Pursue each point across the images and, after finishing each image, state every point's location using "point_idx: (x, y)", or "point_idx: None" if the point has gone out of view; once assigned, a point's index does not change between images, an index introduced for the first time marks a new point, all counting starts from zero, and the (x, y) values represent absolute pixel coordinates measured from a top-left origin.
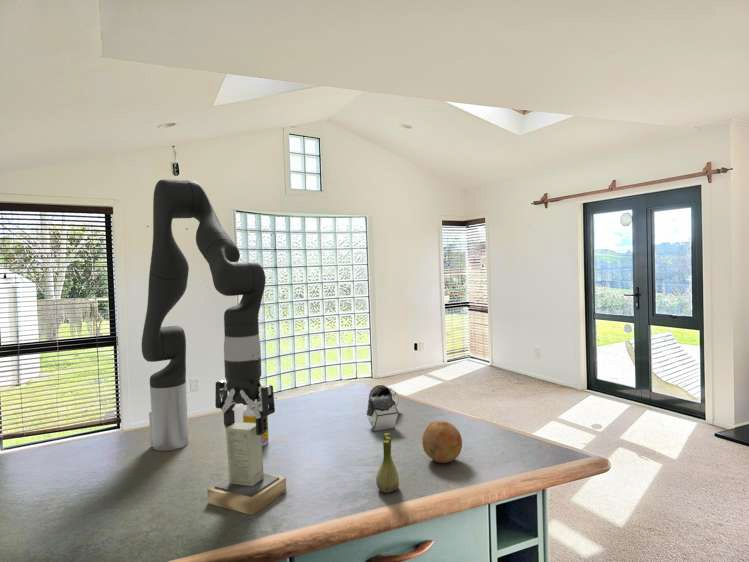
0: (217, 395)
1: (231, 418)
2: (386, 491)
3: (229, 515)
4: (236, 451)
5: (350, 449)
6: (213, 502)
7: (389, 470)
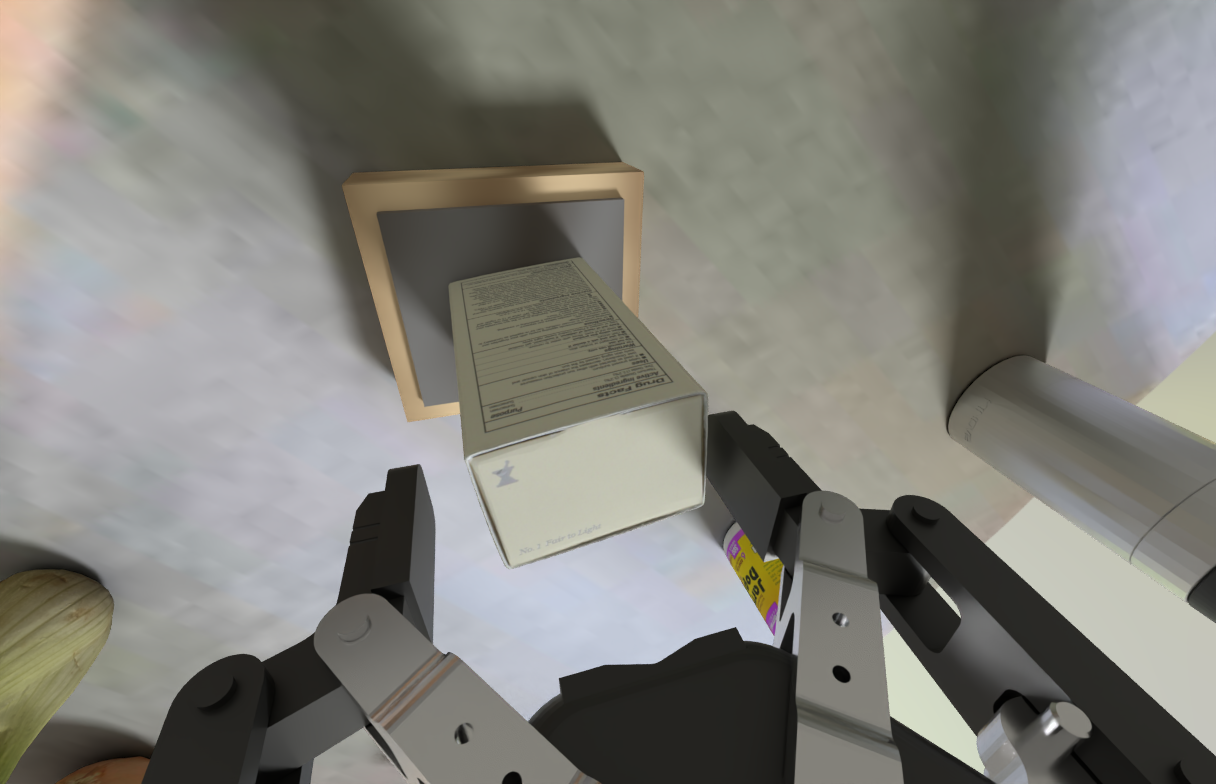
0: (1026, 613)
1: (738, 492)
2: (10, 577)
3: (448, 119)
4: (563, 330)
5: (465, 654)
6: (592, 164)
7: None
